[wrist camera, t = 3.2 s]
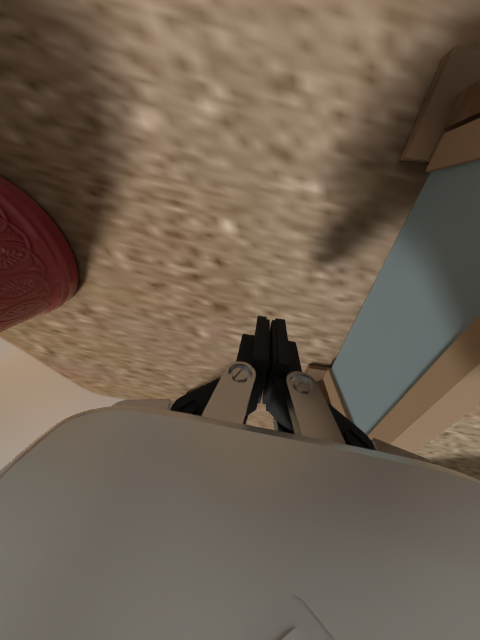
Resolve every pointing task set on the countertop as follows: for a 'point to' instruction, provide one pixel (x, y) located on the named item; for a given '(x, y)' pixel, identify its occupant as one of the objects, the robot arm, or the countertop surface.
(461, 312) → the panel
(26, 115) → the countertop surface
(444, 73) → the gate frame
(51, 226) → the canister
